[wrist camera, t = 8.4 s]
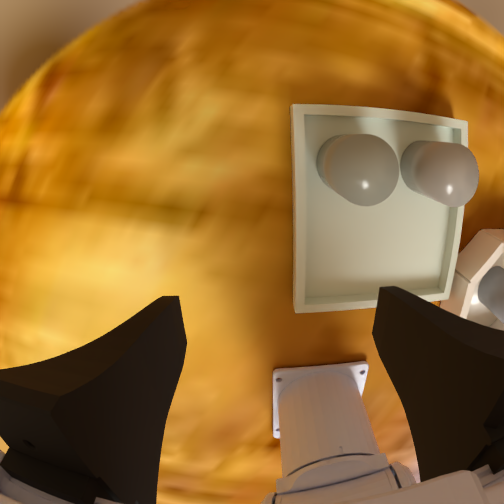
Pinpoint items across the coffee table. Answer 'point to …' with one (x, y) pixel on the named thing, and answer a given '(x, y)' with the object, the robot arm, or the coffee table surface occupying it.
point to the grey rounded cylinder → (493, 291)
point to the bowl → (475, 277)
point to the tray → (368, 216)
